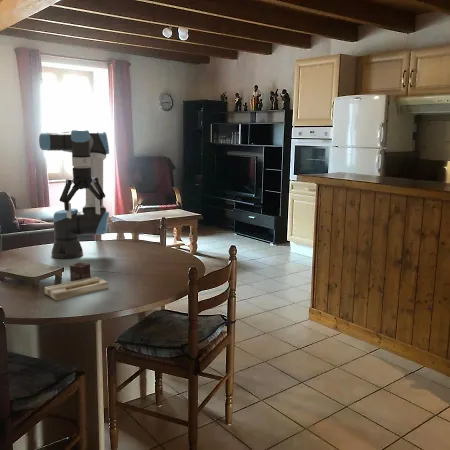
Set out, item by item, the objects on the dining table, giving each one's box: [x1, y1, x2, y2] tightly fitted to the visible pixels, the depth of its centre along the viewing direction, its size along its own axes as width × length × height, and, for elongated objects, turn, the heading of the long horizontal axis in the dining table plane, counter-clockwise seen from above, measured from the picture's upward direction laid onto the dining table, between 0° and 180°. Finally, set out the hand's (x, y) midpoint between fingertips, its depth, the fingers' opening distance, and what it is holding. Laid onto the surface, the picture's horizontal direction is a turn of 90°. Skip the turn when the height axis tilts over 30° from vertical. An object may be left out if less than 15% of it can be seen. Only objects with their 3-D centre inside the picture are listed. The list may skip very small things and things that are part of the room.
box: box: [69, 261, 92, 282], centre depth 200 cm, size 6×6×7 cm
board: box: [44, 275, 109, 301], centre depth 189 cm, size 10×22×3 cm, turn 134°
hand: (83, 215), depth 206 cm, fingers open, 13 cm apart
